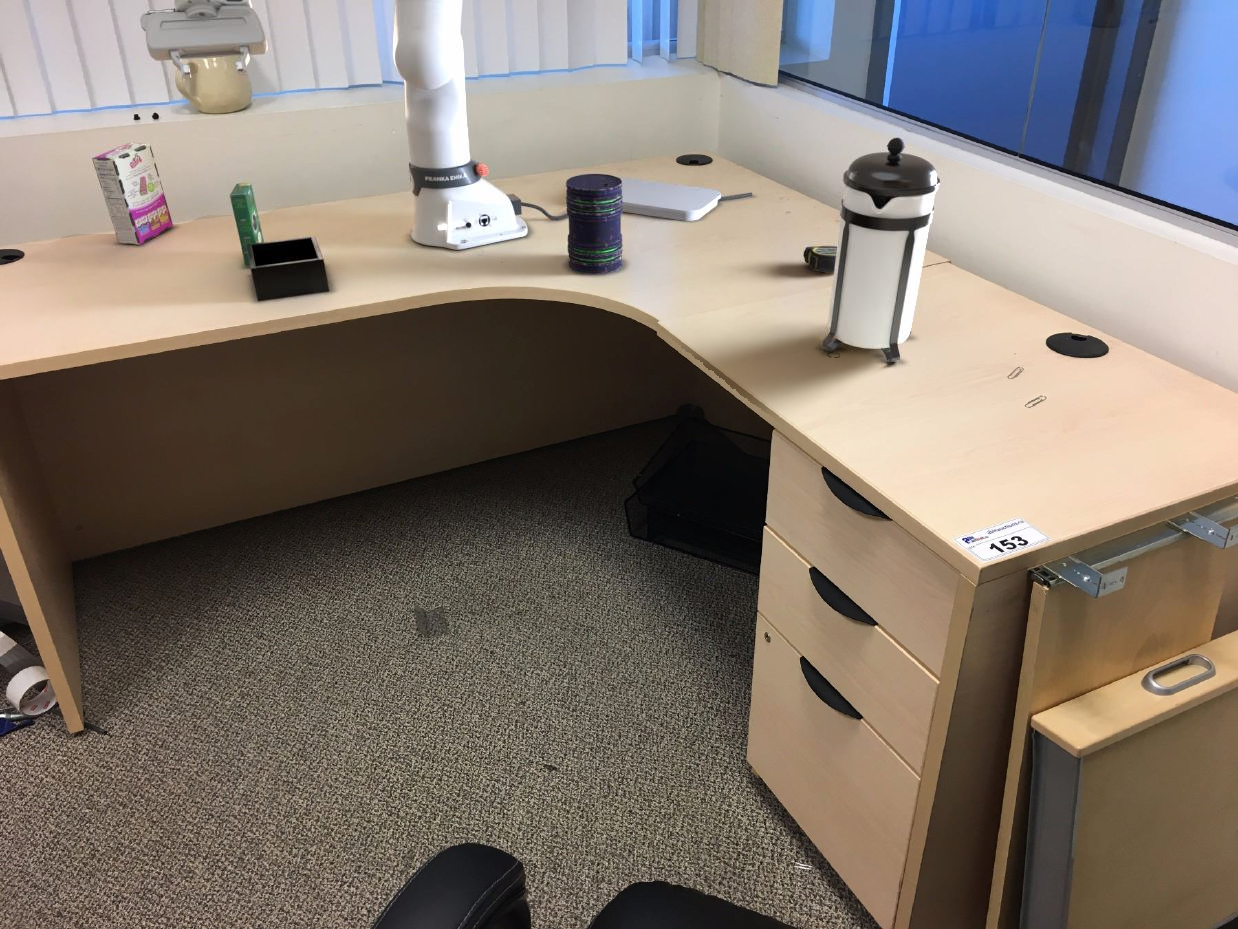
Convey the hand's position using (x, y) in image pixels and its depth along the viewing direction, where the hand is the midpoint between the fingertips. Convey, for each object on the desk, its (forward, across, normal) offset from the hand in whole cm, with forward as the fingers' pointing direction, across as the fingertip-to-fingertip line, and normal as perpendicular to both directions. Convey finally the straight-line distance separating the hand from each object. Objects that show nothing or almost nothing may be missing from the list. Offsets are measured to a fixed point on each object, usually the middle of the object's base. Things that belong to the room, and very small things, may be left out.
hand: (214, 74), depth 168 cm
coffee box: (+32, 0, +10) cm, 33 cm away
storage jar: (+50, +57, -8) cm, 76 cm away
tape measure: (+62, +94, -20) cm, 114 cm away
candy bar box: (+16, -19, +26) cm, 36 cm away
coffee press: (+82, +84, -40) cm, 124 cm away
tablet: (+29, +81, +12) cm, 87 cm away
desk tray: (+42, +5, 0) cm, 42 cm away
